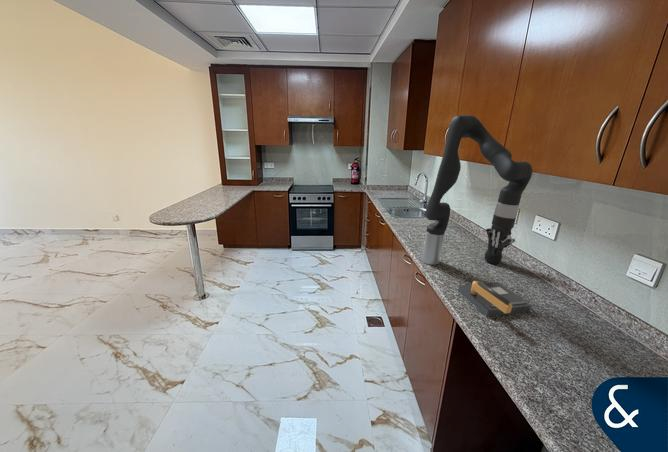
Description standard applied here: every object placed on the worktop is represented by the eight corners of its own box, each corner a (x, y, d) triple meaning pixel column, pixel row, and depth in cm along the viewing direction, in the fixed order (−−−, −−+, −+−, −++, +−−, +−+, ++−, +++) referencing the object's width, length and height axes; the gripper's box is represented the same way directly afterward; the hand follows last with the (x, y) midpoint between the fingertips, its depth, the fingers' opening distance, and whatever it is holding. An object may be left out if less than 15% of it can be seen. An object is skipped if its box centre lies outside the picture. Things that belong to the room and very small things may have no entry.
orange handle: (474, 291, 117) (477, 277, 115) (509, 317, 101) (513, 302, 99) (468, 291, 116) (472, 277, 114) (503, 318, 100) (508, 303, 98)
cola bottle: (491, 265, 147) (505, 212, 137) (479, 258, 155) (492, 208, 145) (504, 264, 149) (518, 212, 139) (492, 257, 157) (504, 207, 147)
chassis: (457, 291, 123) (459, 284, 121) (496, 287, 126) (497, 281, 125) (486, 316, 106) (488, 309, 105) (529, 311, 110) (531, 304, 109)
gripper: (484, 209, 110) (475, 248, 116) (510, 220, 98) (498, 263, 104) (500, 209, 111) (490, 247, 117) (527, 219, 99) (515, 261, 105)
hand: (494, 254), depth 111 cm, fingers closed
